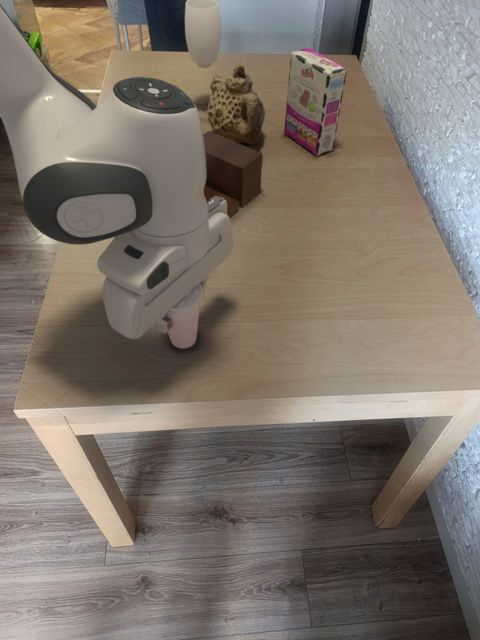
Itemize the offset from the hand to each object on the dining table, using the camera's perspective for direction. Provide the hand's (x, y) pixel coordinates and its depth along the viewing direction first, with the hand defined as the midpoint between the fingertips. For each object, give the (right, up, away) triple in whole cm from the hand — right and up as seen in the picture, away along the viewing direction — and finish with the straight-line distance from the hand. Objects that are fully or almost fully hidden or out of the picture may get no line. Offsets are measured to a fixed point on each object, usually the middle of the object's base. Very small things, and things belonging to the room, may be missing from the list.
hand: (180, 313), depth 68 cm
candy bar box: (+21, +39, +39) cm, 59 cm away
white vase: (-2, +49, +45) cm, 66 cm away
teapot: (+6, +39, +38) cm, 54 cm away
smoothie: (0, -3, +4) cm, 6 cm away
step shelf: (+1, +22, +24) cm, 32 cm away
